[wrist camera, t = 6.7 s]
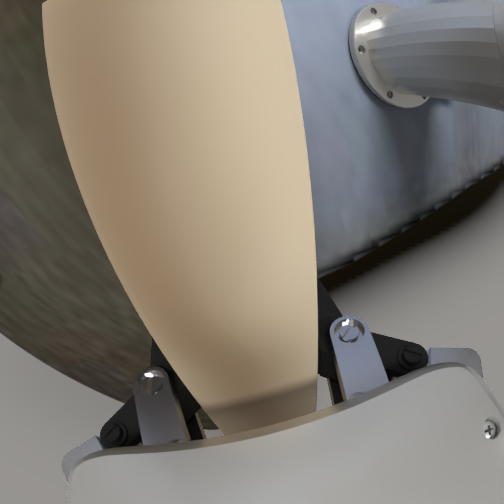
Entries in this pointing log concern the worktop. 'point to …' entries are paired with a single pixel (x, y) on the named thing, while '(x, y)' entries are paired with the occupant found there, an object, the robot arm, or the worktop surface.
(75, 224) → the worktop surface
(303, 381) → the maple rail
